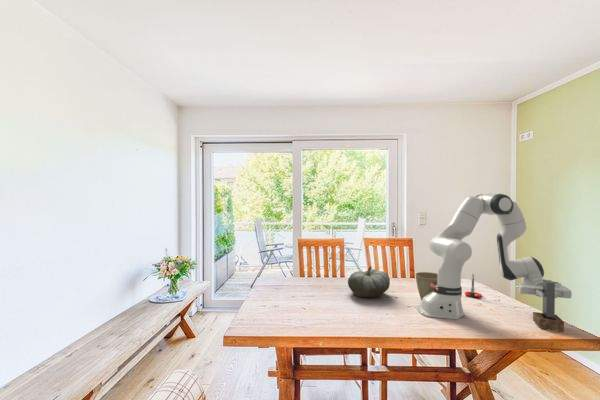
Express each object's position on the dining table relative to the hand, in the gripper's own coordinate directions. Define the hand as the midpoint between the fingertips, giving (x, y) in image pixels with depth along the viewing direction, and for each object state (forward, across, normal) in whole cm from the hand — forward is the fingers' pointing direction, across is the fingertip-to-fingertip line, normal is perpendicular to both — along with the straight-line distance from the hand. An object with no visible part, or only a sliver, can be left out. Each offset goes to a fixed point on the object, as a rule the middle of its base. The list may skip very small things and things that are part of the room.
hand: (549, 295), depth 141 cm
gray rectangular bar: (-1, 0, +10) cm, 10 cm away
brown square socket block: (-1, 0, +15) cm, 15 cm away
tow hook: (-37, -26, +15) cm, 48 cm away
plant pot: (-12, -51, +15) cm, 55 cm away
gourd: (-13, -86, +14) cm, 88 cm away
